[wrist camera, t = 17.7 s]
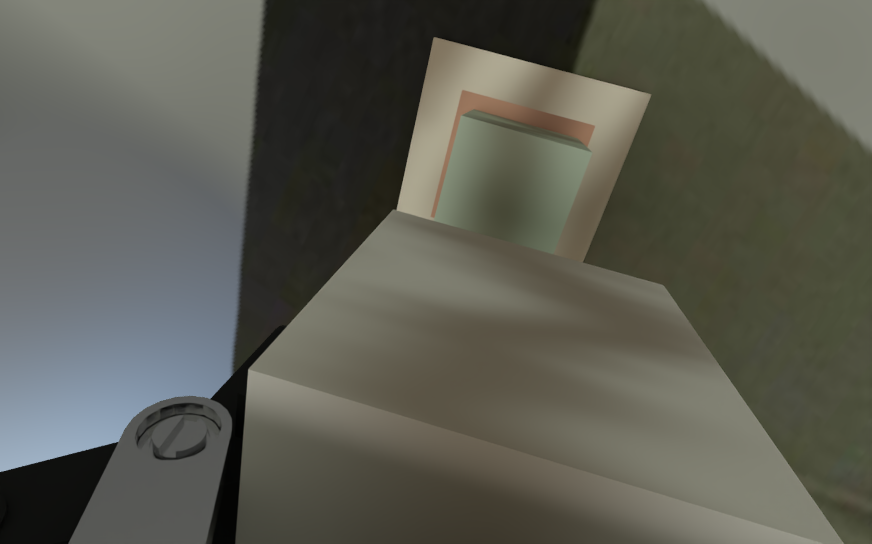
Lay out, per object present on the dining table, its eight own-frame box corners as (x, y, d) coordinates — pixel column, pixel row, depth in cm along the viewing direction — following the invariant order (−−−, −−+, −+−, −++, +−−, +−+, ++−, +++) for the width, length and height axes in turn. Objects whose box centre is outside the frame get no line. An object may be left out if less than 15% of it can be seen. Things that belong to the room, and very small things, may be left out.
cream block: (663, 285, 10) (848, 550, 4) (565, 480, 12) (604, 804, 7) (393, 209, 10) (248, 369, 5) (351, 415, 13) (225, 675, 7)
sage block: (577, 138, 26) (592, 152, 20) (540, 236, 28) (545, 273, 23) (473, 109, 26) (461, 115, 20) (446, 208, 28) (429, 238, 23)
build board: (645, 94, 25) (651, 94, 24) (569, 284, 30) (571, 292, 29) (437, 39, 26) (433, 36, 25) (395, 233, 31) (390, 239, 30)
